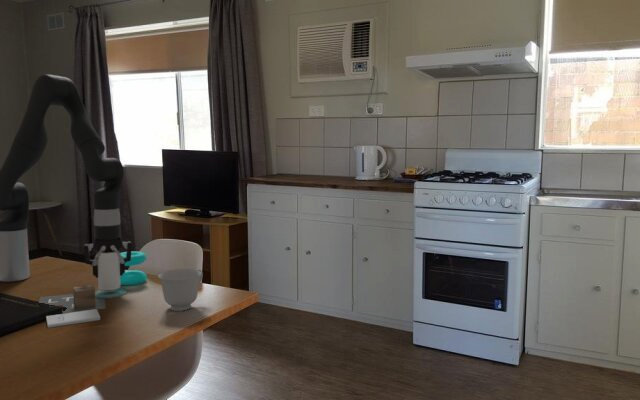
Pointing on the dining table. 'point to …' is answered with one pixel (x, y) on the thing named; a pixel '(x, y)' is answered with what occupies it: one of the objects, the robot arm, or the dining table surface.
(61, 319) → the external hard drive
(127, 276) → the donuts
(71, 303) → the tile
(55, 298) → the tile
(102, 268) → the can
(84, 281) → the dining table surface
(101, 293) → the coaster
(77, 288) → the walnut block
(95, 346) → the dining table surface
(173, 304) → the teacup
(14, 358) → the dining table surface
